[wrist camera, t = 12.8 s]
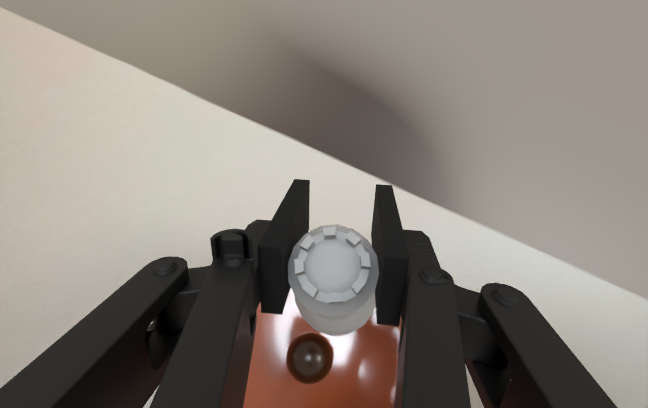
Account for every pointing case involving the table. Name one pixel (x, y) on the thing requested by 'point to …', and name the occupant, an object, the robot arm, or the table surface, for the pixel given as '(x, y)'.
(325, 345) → the bead
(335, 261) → the rook chess piece
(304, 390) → the bowl
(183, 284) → the robot arm
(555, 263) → the table surface
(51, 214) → the table surface
